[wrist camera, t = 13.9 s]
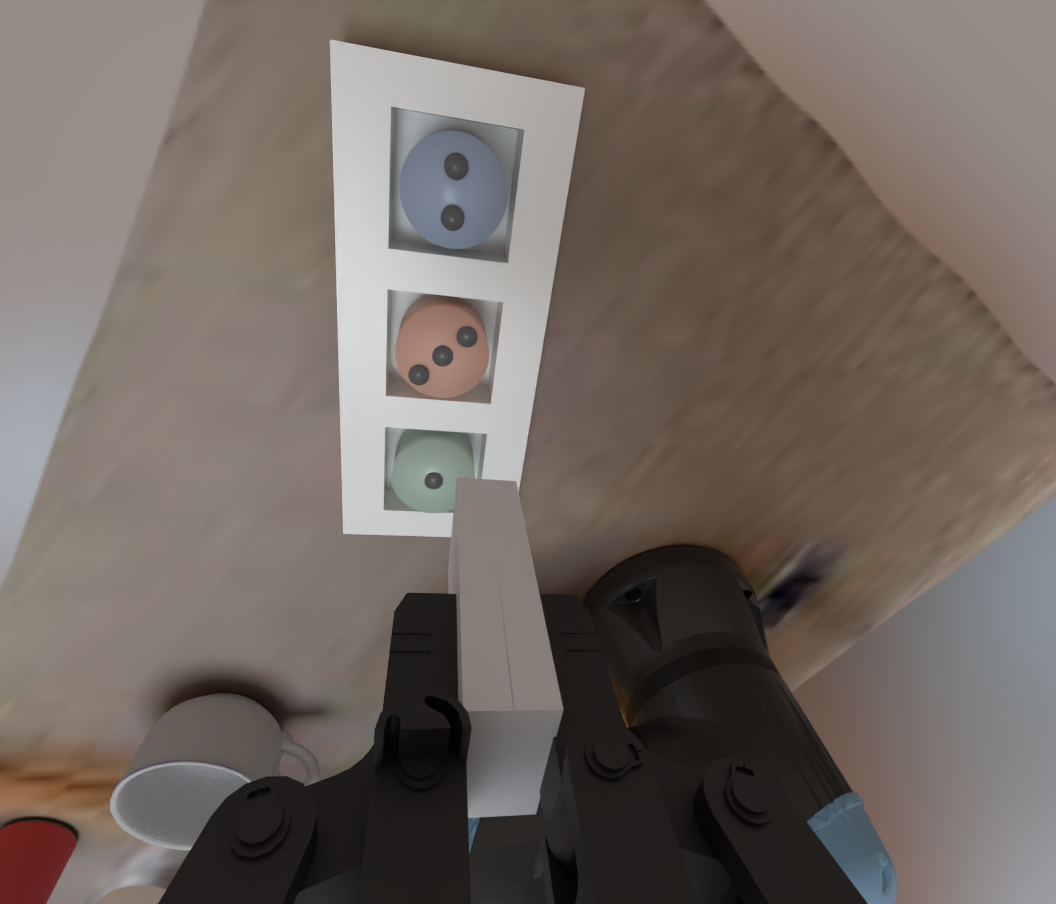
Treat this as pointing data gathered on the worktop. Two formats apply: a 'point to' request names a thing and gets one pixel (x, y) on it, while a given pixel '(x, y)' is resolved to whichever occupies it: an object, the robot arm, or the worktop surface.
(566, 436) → the worktop surface
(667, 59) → the worktop surface
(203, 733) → the teacup
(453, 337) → the three pip button
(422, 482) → the one pip button
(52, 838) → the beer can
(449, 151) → the two pip button
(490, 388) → the button panel
